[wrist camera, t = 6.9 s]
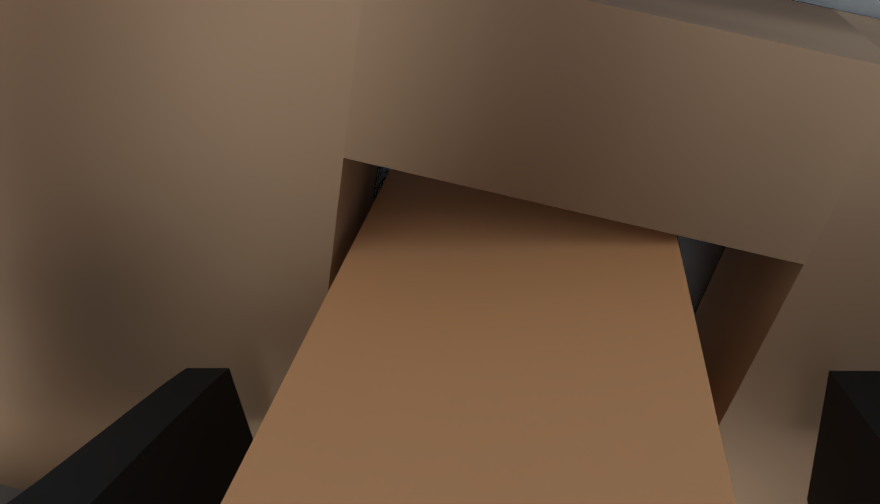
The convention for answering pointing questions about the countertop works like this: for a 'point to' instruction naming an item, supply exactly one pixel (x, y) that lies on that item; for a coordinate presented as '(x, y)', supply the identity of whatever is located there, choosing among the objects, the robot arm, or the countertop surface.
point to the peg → (494, 365)
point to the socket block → (430, 155)
